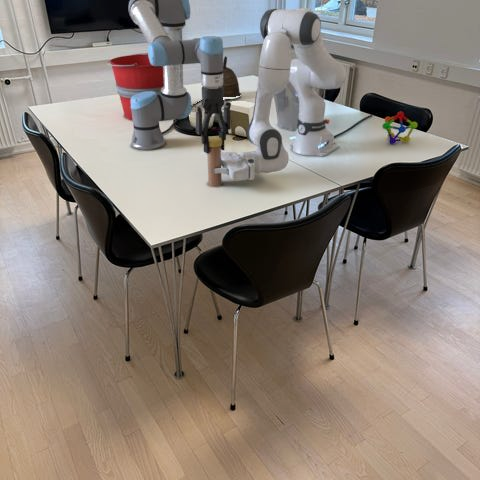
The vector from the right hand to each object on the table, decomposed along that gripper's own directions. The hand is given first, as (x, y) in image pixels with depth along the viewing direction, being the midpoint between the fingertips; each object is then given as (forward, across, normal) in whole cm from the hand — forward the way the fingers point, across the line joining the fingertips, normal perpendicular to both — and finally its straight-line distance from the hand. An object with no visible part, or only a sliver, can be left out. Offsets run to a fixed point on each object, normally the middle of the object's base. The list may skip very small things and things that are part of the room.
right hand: (212, 167), depth 167 cm
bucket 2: (-59, -59, +7) cm, 84 cm away
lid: (-1, 0, -11) cm, 11 cm away
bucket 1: (+13, -100, +7) cm, 101 cm away
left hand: (-1, 0, -6) cm, 7 cm away
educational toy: (-95, -20, +7) cm, 97 cm away
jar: (-1, 0, +7) cm, 7 cm away
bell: (-40, -124, +7) cm, 131 cm away
